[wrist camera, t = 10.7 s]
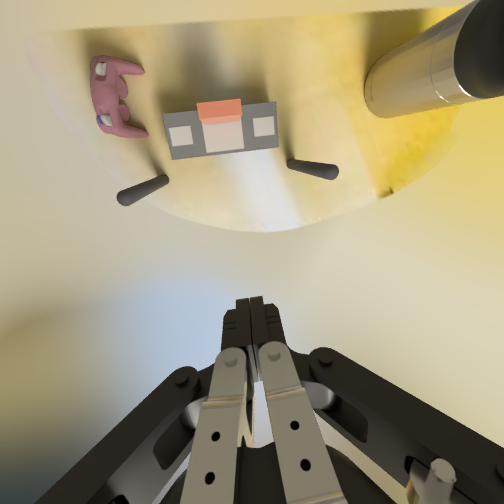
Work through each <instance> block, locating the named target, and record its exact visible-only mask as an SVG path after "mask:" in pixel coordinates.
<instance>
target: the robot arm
mask: <svg viewBox="0 0 504 504" xmlns="http://www.w3.org/2000/svg"><path fill="white" fill-rule="evenodd" d="M364 92H365V100H366V103H367V106H368V108H369V109H370V110H371V112H372V113H373V114H375V115H376V116H378V117H381V118H393V117H398V116H403V115H409V114H414V113H419V112H424V111H429V110H434V109H439V108H444V107H449V106H454V105H459V104H464V103H468V102H473V101H478V100H483V99H488V98H494V97H499V96H503V95H504V0H475V1H473V2H471V3H470V4H468V5H466V6H465V7H463V8H462V9H460V10H458V11H457V12H455V13H453V14H452V15H450V16H448V17H447V18H445V19H443V20H442V21H440V22H438V23H437V24H435V25H433V26H432V27H430V28H428V29H427V30H425V31H423V32H422V33H420V34H418V35H417V36H415V37H414V38H412V39H410V40H409V41H407V42H405V43H404V44H402V45H400V46H398V47H397V48H395V49H394V50H392V51H390V52H389V53H387V54H385V55H384V56H382V57H381V58H380V59H379V60H377V61H376V62H375V64H374V65H373V66H372V68H371V69H370V71H369V73H368V75H367V79H366V82H365V89H364ZM257 368H258V370H257ZM258 373H259V379H260V381H263V384H264V390H265V396H266V401H267V407H268V412H269V417H270V423H271V428H272V433H273V438H274V442H272V443H270V444H268V445H266V446H264V447H261V448H254V382H258ZM312 408H313V409H312ZM313 410H314V411H315V413H317V414H318V415H319V416H320V417H321V418H322V419H323V420H325V421H326V422H327V423H328V424H330V425H331V426H332V427H333V428H334V429H335V430H337V431H338V432H339V433H340V434H341V435H343V436H344V437H345V438H346V439H348V440H349V441H350V442H351V443H352V444H353V445H355V446H356V447H357V448H358V449H359V450H361V451H362V452H363V453H364V454H365V455H367V456H368V457H369V458H370V459H371V460H373V461H374V462H375V463H376V464H377V465H378V466H380V467H381V468H382V469H383V470H384V471H386V472H387V473H388V474H389V475H390V476H392V477H393V478H394V479H395V480H396V481H398V482H399V483H400V484H401V485H402V486H404V487H405V488H406V495H407V500H408V502H409V504H504V448H503V447H501V446H499V445H497V444H496V443H494V442H492V441H490V440H489V439H487V438H485V437H483V436H482V435H480V434H478V433H477V432H475V431H473V430H471V429H470V428H468V427H466V426H465V425H463V424H461V423H459V422H457V421H456V420H454V419H452V418H451V417H449V416H447V415H445V414H444V413H442V412H440V411H439V410H437V409H435V408H433V407H432V406H430V405H428V404H427V403H425V402H423V401H421V400H420V399H418V398H416V397H415V396H413V395H411V394H409V393H408V392H406V391H404V390H402V389H401V388H399V387H397V386H396V385H394V384H392V383H390V382H389V381H387V380H385V379H383V378H382V377H380V376H378V375H377V374H375V373H373V372H371V371H370V370H368V369H366V368H365V367H363V366H361V365H359V364H357V363H356V362H354V361H352V360H351V359H349V358H347V357H346V356H344V355H342V354H340V353H338V352H337V351H335V350H333V349H331V348H326V347H320V348H317V349H314V350H313V351H312V352H311V353H310V354H309V355H307V354H300V353H297V352H294V351H293V350H291V349H290V348H289V347H288V346H287V344H286V340H285V336H284V332H283V327H282V323H281V319H280V315H279V310H278V308H277V307H276V306H275V305H274V304H273V303H272V304H265V305H264V304H263V297H262V296H258V297H251V298H250V301H249V298H245V299H238V300H236V309H232V310H228V311H227V312H226V314H225V316H224V319H223V331H222V343H221V352H220V353H219V355H218V356H217V358H216V360H215V363H214V364H212V365H211V366H209V367H207V368H205V369H203V370H201V371H198V372H197V370H196V369H195V368H193V367H190V366H186V367H181V368H179V369H177V370H175V371H174V372H173V373H171V374H170V375H169V376H168V377H167V378H166V379H165V380H164V381H163V382H162V383H161V384H160V385H159V386H158V387H157V388H156V389H155V390H153V391H152V392H151V394H149V395H148V396H147V397H146V398H145V399H144V400H143V401H142V402H141V403H140V404H139V405H138V406H137V407H136V408H134V409H133V410H132V411H131V412H130V413H129V414H128V415H127V416H126V417H125V418H124V419H123V420H122V421H121V422H120V423H119V424H118V425H117V426H116V427H114V428H113V429H112V430H111V431H110V432H109V433H108V434H107V435H106V436H105V437H104V438H103V439H102V440H101V441H100V442H99V443H98V444H97V445H96V446H95V447H93V448H92V449H91V450H90V451H89V452H88V453H87V454H86V455H85V456H84V457H83V458H82V459H81V460H80V461H79V462H78V463H76V465H74V466H73V467H72V468H71V469H70V470H69V471H68V472H67V473H66V474H65V475H64V476H63V477H62V478H61V479H60V480H59V481H58V482H56V484H54V486H52V487H51V488H50V489H49V490H48V491H47V492H46V493H45V494H44V495H43V496H42V497H41V498H40V499H39V500H37V501H36V502H35V503H34V504H151V503H152V502H153V501H154V499H155V498H156V497H157V495H158V494H159V493H160V491H161V490H162V489H163V487H164V486H165V485H166V484H167V482H168V481H169V480H170V478H171V477H172V476H173V474H174V473H175V472H176V470H177V469H178V468H179V466H180V465H181V464H182V462H183V461H184V460H185V459H186V457H187V456H188V454H189V453H190V452H191V454H190V459H189V464H188V468H187V469H186V470H185V471H184V472H183V473H182V474H181V475H180V476H179V477H178V479H177V480H176V481H175V482H174V484H173V485H172V486H171V488H170V489H169V491H168V492H167V494H166V495H165V496H164V498H163V499H162V501H161V502H160V503H159V504H397V503H395V501H393V500H392V499H391V498H390V497H389V496H388V495H387V494H386V493H385V492H384V491H383V490H382V489H381V488H380V487H379V486H378V485H377V484H375V483H374V482H373V481H372V480H371V479H370V478H369V477H368V476H367V475H366V474H365V473H364V472H363V471H362V470H361V469H359V468H358V467H357V466H356V465H355V464H354V463H353V462H352V461H351V460H350V459H349V458H348V457H347V456H345V455H344V454H342V453H341V452H340V451H338V450H336V449H334V448H332V447H330V446H328V445H325V443H324V440H323V437H322V434H321V432H320V429H319V426H318V423H317V420H316V418H315V415H314V412H313Z"/></svg>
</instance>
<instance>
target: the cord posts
mask: <svg viewBox="0 0 504 504" xmlns="http://www.w3.org/2000/svg"><path fill="white" fill-rule="evenodd" d="M287 167H288V168H289V169H292V170H296V171H300V172H303V173H307V174H310V175H314V176H317V177H321V178H324V179H328V180H333V179H335V178H336V177H337V176H338V174H339V169H338V167H337V166H336V165H333V164H325V163H317V162H310V161H302V160H294V159H290V160H288V162H287ZM168 183H169V178H168V176H166V175H161V176H159V177H156V178H153V179H151V180H148V181H146V182H143V183H140V184H138V185H135V186H133V187H130V188H127V189H125V190H122V191H120V192H119V193H118V194H117V201H118V202H119V203H120V204H121V205H123V206H129V205H131V204H133V203H134V202H136V201H138V200H140V199H142V198H143V197H145V196H147V195H149V194H150V193H152V192H154V191H156V190H157V189H159V188H161V187H163V186H164V185H166V184H168Z"/></svg>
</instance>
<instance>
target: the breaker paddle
mask: <svg viewBox="0 0 504 504" xmlns="http://www.w3.org/2000/svg"><path fill="white" fill-rule="evenodd" d="M197 109H198V115H199V120H200V121H201V122H202V123H203V124H204V125H208V124H217V123H226V122H235V121H239V120H240V118H241V116H242V108H241V98H240V99H231V100H222V101H213V102H203V103H197Z"/></svg>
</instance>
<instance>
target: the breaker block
mask: <svg viewBox="0 0 504 504" xmlns="http://www.w3.org/2000/svg"><path fill="white" fill-rule="evenodd" d="M241 108H242V116H241V118H240V120H239V121H235V122H226V123H217V124H208V125H204V124H203V123H202V122H201V121H200V120H199V115H198V110H194V111H185V112H176V113H167V114H162V116H163V121H164V125H165V130H166V134H167V139H168V144H169V148H170V153H171V157H172V160H176V159H184V158H193V157H201V156H209V155H218V154H226V153H234V152H243V151H251V150H260V149H268V148H276V147H279V142H278V127H277V111H276V102H267V103H257V104H248V105H241Z"/></svg>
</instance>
